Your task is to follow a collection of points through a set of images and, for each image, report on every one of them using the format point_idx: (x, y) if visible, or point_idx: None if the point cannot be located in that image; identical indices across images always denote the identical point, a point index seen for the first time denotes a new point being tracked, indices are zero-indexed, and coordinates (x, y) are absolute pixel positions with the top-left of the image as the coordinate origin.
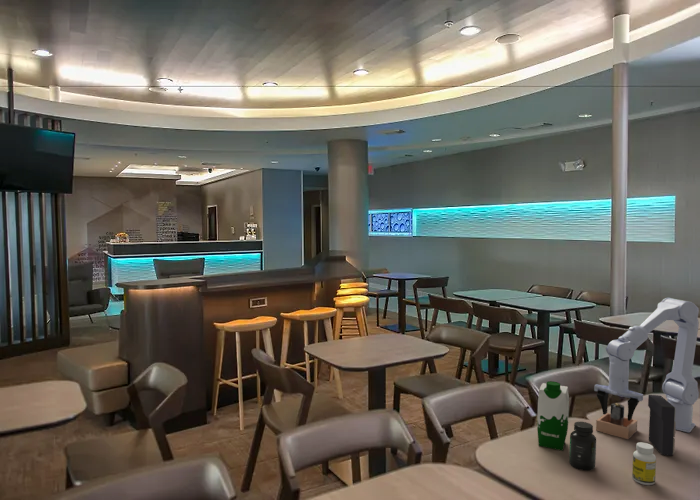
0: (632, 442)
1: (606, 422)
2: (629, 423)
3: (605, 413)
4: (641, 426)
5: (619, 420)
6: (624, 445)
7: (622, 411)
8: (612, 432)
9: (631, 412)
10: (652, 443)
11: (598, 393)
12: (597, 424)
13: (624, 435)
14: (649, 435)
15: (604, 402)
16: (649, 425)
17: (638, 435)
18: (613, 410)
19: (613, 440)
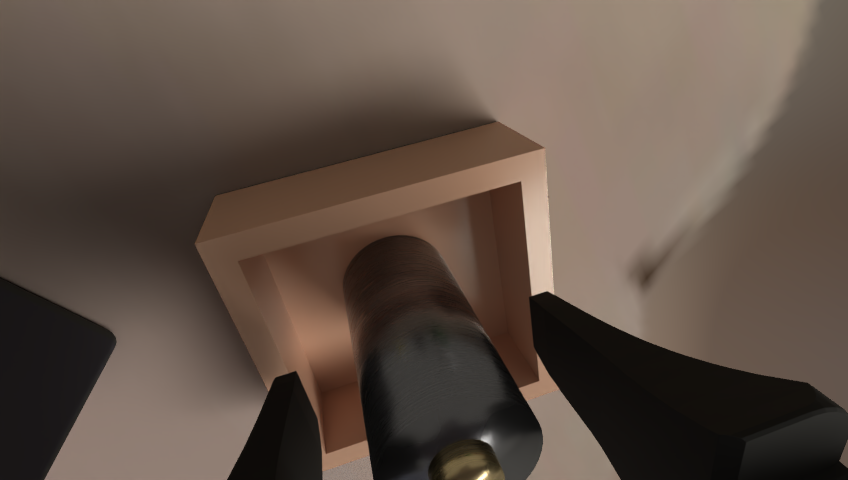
0: (139, 166)
1: (444, 186)
2: (358, 410)
3: (533, 311)
4: (340, 475)
5: (368, 317)
6: (105, 4)
7: (368, 422)
8: (359, 165)
9: (233, 468)
10: (9, 289)
11: (824, 455)
12: (512, 138)
13: (246, 197)
14: (81, 360)
15: (622, 386)
16: (46, 448)
17: (239, 344)
18: (459, 357)
19: (263, 34)
